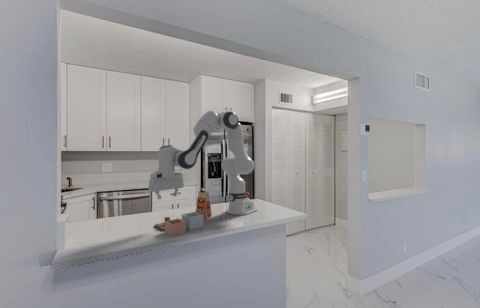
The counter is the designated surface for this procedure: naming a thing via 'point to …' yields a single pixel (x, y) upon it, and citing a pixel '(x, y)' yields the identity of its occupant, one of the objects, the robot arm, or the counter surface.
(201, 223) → the blue-grey open box
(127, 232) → the counter surface
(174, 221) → the orange open box
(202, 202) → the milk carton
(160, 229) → the mat
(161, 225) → the lid
